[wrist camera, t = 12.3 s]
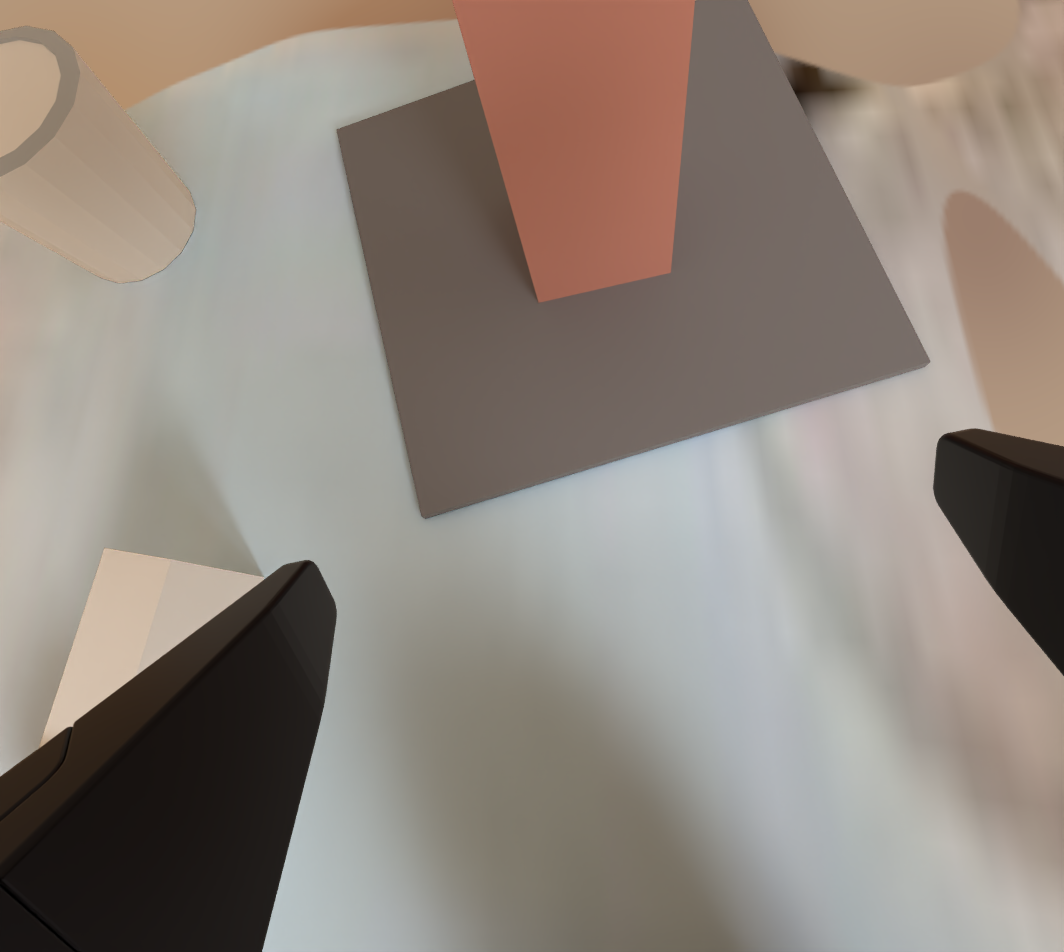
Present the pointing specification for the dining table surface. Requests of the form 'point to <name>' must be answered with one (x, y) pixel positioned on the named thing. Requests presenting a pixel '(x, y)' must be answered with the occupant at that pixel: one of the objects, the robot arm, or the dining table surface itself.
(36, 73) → the shot glass
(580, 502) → the dining table surface
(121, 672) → the napkin holder
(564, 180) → the card box
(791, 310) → the mat
